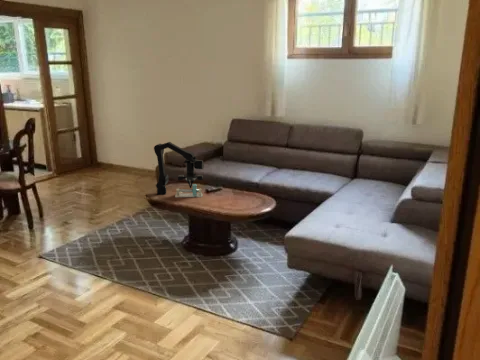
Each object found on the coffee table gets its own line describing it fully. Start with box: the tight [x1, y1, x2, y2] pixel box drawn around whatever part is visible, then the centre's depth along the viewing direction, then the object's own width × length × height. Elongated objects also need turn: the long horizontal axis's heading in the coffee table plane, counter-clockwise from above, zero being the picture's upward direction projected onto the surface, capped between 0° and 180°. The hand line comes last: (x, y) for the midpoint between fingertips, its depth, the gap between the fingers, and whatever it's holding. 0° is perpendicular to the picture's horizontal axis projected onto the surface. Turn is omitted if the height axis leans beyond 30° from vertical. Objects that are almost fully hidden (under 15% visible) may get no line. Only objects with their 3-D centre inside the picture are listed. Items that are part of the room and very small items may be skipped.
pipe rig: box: [174, 187, 204, 198], centre depth 323 cm, size 21×8×5 cm, turn 94°
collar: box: [191, 183, 198, 195], centre depth 322 cm, size 3×5×7 cm, turn 4°
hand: (190, 188), depth 322 cm, fingers closed
